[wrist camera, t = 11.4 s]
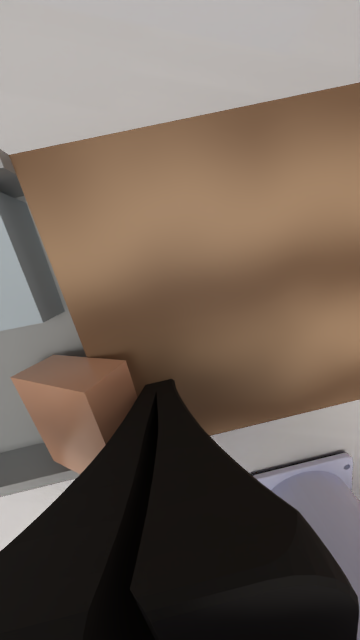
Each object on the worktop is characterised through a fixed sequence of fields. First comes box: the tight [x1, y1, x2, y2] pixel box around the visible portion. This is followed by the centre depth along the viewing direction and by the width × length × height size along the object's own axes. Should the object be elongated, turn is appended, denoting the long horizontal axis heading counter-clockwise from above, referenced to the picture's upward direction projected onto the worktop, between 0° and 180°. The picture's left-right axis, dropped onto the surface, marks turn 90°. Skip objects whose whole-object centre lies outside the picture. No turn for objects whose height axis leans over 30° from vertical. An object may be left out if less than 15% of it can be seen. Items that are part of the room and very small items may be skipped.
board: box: [9, 83, 360, 436], centre depth 10 cm, size 14×16×2 cm
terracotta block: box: [10, 355, 138, 474], centre depth 9 cm, size 5×5×2 cm
